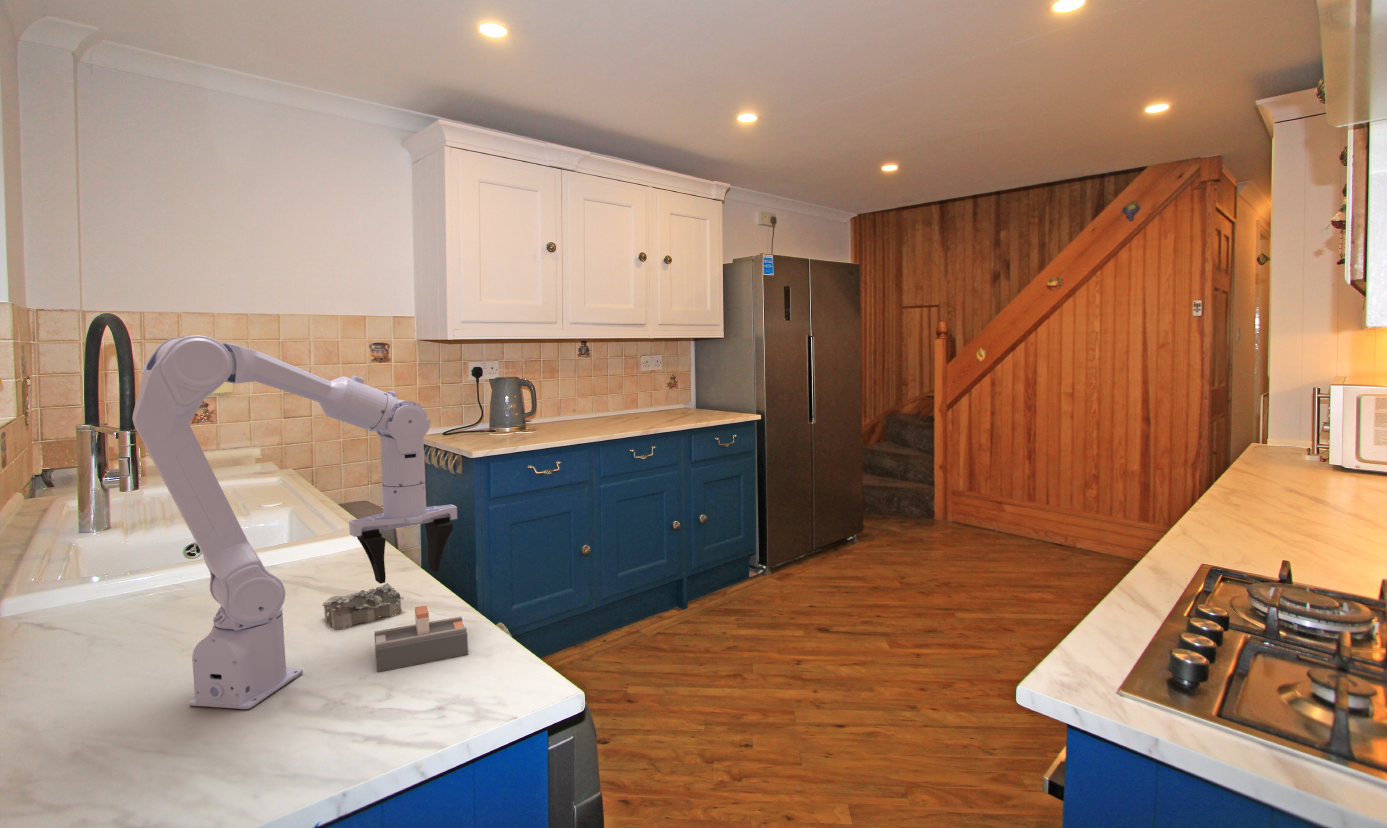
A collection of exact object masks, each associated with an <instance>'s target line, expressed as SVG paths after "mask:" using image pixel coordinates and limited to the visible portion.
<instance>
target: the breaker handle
mask: <svg viewBox="0 0 1387 828" xmlns="http://www.w3.org/2000/svg"><path fill="white" fill-rule="evenodd" d="M429 614H430V613H429V609H428V606H427V605H421V606H416V607H414V619H415V624H416V631H417V635H423V634H429V622H430V615H429Z"/></svg>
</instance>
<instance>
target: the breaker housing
mask: <svg viewBox="0 0 1387 828" xmlns="http://www.w3.org/2000/svg"><path fill="white" fill-rule="evenodd" d="M373 634H374V635H373V636H374V637H373V638H374V650H375V651H374V653H375V664H376V665H375V666H376V672H377V673H379V672H380V673H381V672H385V671H390V670H395V669H400V668H405V667H411V666H415V665H421V664H425V663H426V664H427V663H431V662H435V661H441V659H442V660H445V659H446V658H447V659H451V658H456V657H457V658H458V657H460V656H461V655H462V656H467V655H468V654H469V646H468V645H469V643H468V641H469V640H468V630H467V627H466V626H465V624H464V623H463V617H462V616H457V617H450V618H445V619H438V620H432V621H429V634H423V635H417V631H416V623H415V624H410V625H403V626H398V627H393V628H387V629H386V628H385V629H381V630H375V631H374V633H373Z"/></svg>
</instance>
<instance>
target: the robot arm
mask: <svg viewBox="0 0 1387 828" xmlns="http://www.w3.org/2000/svg"><path fill="white" fill-rule="evenodd" d="M253 382H256V383H258V384H262V385H266V386H269V387H271V388H274V389H278V390H281V391H282V392H286V393H288V394H289V393H290V394H292V395H296V396H299V397H301V398H304V399H308V400H311V401H314V402H318V404H319V405H320V407H321V409H322V411H323V413H324V414H325V416H326V417H329V418H331V419H335V420H338V421H341V422H343V423H346V424H349V425H352V426H356V427H358V428H361V429H362V430H363V429H364V430H366V431H370V432H375V433H376V434H377V435H378V436H379V438H380V442H379V443H380V467H381V468H380V469H381V489H382V508H383V509H382V511H383V512H381V513H378V514H374V515H370V516H366V517H362V518H361V517H360V518H358V519H352V520H349V521H348V522H349V523H348V525H349V526H348V527H349V535H351V536H352V537H353V538H357V540H358V541H359V543H360V545H361V546H362V548H363V550H364V552H365V553H366V556H367V558H368V560H369V563H370V564H371V568H372V570H373V575H374V578H375V581H376V582H377V583H378V584H386V579H387V578H386V567H385V551H386V542H387V541H386V538H384V537H383V536H382V535H383V534H382V533H381V532H384V531H387V530H389V531H390V530H395V529H400V528H406V527H411V526H417V525H422V524H424V527H425V533H426V540H427V551H428V552H427V553H428V554H427V558H428V559H427V561H428V568H429V569H430V570H431V571H432V572H438V571H440V566H441V562H442V557H443V553H444V550H445V547H446V544H447V542H448V540H449V537H450V535H451V533H452V532H453V530H454V522H452V521H453V520H458V507H457V506H456V505H454V504H445V505H444V504H443V505H433V506H427V497H426V495H427V492H426V491H427V490H426V468H425V465H426V464H425V451H424V449H425V447H424V438H425V436H426V435H427V434H428V432H429V430H430V428H431V419H430V418H428V413H427V411H426V409H424V408H423V406H422V405H421V404H419V403H417V402H416V401H412V400H405V399H399V398H398V397H397V396H398V393H397V392H395V391H392V390H387V392H386V391H384V390H381V389H378V388H376V387H373V386H370V385H368V384H366V383H365V378H363V377H360V376H357V375H351V377H348V376H344V375H343V376H340V377H337V378H335V379H332V380H329V379H326V378H323V377H321V376H318V375H316V374H314V373H311V372H309V371H306V370H304V369H302V368H300V367H297V366H295V365H293V364H289V363H288V362H285V361H283V360H280V359H278V358H276V357H273V356H271V355H268V354H266V353H264V352H261V351H260V350H255V349H253V348H249V347H244V346H242V345H238V344H234V343H229V342H220V341H219V340H217V339H215V338H213V337H210V336H205V335H198V334H197V335H196V334H194V335H188V336H176V337H172V338H169V339H167V340H165V341H163V342H162V343H161V344H160V345H159V346H158V347H157V348H156V349H155V350H154V352H153V353H152V354H151V355H150V357H149V359H148V360H147V361H146V362H145V363H144V366H143V372H142V377H141V383H140V384H139V385H140V387H139V389H138V394H137V398H136V401H135V405H134V409H133V413H132V419H131V420H132V422H133V426H134V428H135V430H136V432H137V434H138V436H139V437H140V439H141V442H142V443H143V445H144V447H145V449H146V451H147V453H148V455H149V457H150V459H151V460H152V462H153V464H154V465H155V468H156V469H157V471H158V473H159V476H160V477H161V479H162V481H163V483H164V485H165V486H166V488H167V490H168V492H169V494H170V496H171V498H172V499H173V501H174V503H175V506H176V507H177V508H178V510H179V513H180V514H181V517H182V519H183V520H184V522H185V523H186V525H187V527H188V530H189V531H190V533H191V535H192V537H193V539H194V540H195V542H196V545H197V547H198V549H199V550H200V552H201V554H202V557H203V559H204V563H205V565H206V567H207V569H208V572H209V575H210V579H209V580H210V581H209V592H210V594H211V596H212V598H213V599H214V600H215V601H216V602H217V603H218V604H219V605H220V607H219V608H218V610H217V612H216V614H215V616H214V617H213V621H212V622H213V626H212V628H211V630H210V632H209V633H208V634H207V636H205V637H204V638H203V639H201V640H200V641H199V642H198V643H197V644H196V645H195V647H194V649H193V652H192V661H191V662H192V674H193V686H194V698H192V699H191V700H190V701H189V705H190V706H194V707H210V708H224V709H225V708H226V709H237V710H239V709H240V710H249V709H251V708H253V707H254V706H257V705H258V704H259V703H260V702H261V701H263V700H265V699H266V698H268V697H269V696H270V695H272V694H273V693H275V692H277V691H278V690H280V688H282V687H284V686H285V685H286V684H288V683H289V682H292V680H294V679H295V678H297V677H298V676H300V675H301V674H302V673H303V672H304V671H303V668H298V667H297V668H295V667H287V665H286V664H287V663H286V648H285V645H286V644H285V631H284V617H283V616H284V615H283V613H284V612H283V604H284V602H285V599H286V588H285V585H284V583H283V581H281V579H280V578H279V577H277V576H276V575H274V574H272V573H271V572H270V571H268V570H267V569H266V568H265V566H264V564H263V562H262V561H261V559H260V557H259V556H258V554H257V553H256V551H255V550H254V548H253V547H252V545H251V544H250V542H249V540H248V539H247V536H246V534H245V533H244V530H243V529H242V526H241V525H240V522H239V521H238V518H237V516H236V514H235V512H234V510H233V508H232V507H231V505H230V503H229V500H228V499H227V497H226V494H225V493H224V491H223V489H222V486H221V485H220V483H219V481H218V478H217V477H216V475H215V473H214V470H213V469H212V467H211V465H210V463H209V461H208V459H207V457H206V454H204V450H202V446H201V445H200V443H199V441H198V440H197V438H196V435H195V434H194V431H193V429H192V427H191V426H190V425H191V422H192V420H193V418H194V417H195V415H196V413H197V412H198V411H199V409H200V407H201V405H202V404H203V403H204V400H205V399H207V398H208V396H211V394H212V393H214V392H215V391H217V389H219V388H220V387H221V386H222V385H224V384H225V383H229V384H243V383H253Z"/></svg>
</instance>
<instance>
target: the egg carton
mask: <svg viewBox="0 0 1387 828" xmlns="http://www.w3.org/2000/svg"><path fill="white" fill-rule="evenodd" d="M402 600H404V596H401V594H400V592H398V591H397V590H396V589H395V587H392V586H391V585H390V583H389V582H387V583H386V582H385V583H384V584H383V585H381V586H377V587H376V588H369V589H368V590H367V591H366V590H364V589H362V590H360V591H359V592H354V593H350V594H347V595H335V596H330V597H329V598H327V599H326V600H325V601H324V602H322V604H321V606H322V607H323V608H324V620H325V622H326V624H329V623H331V627H332V629H333V630H337V629H343V630H346V629H350V628H352V627H353V625H357V624H360V623H367V624H369V623H372V622H375V621H374V620H377V619H378V618H380V617H379V616H382V617H389V616H391V617H393V616H392V615H395V614H396V613H397V612H398V611H400V612H402V605H401V604H402V603H401V601H402ZM398 613H399V612H398ZM398 613H397V614H398ZM397 614H396V615H397ZM396 615H395V616H396ZM377 617H378V618H377ZM371 621H372V622H371Z"/></svg>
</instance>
